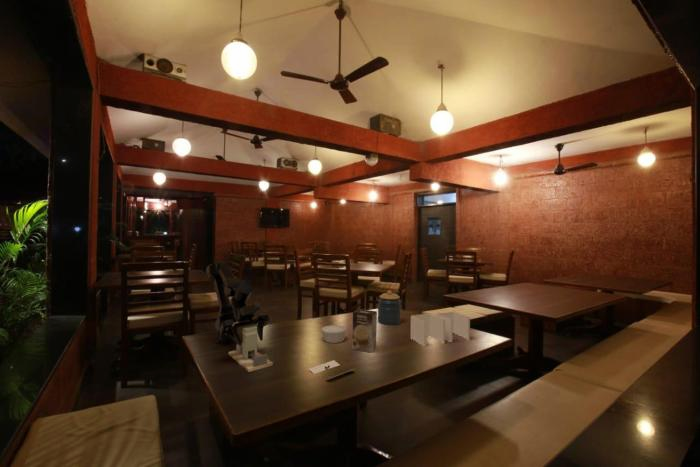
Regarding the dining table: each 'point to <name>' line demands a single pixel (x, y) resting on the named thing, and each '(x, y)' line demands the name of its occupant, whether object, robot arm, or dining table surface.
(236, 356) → the cable comb board
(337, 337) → the ramekin
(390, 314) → the canister
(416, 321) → the white folding screen
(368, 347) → the coffee box
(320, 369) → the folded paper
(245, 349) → the marker sleeve
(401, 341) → the dining table surface
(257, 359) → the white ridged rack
